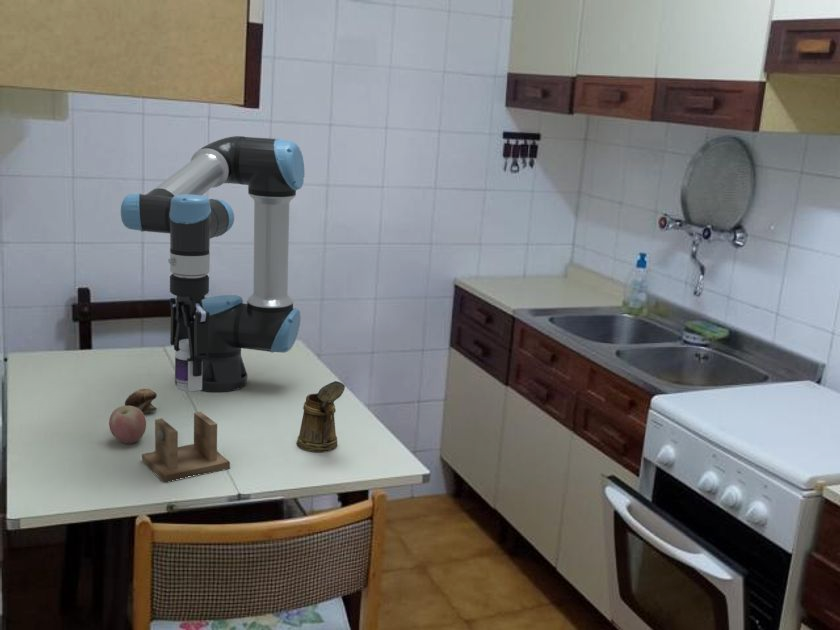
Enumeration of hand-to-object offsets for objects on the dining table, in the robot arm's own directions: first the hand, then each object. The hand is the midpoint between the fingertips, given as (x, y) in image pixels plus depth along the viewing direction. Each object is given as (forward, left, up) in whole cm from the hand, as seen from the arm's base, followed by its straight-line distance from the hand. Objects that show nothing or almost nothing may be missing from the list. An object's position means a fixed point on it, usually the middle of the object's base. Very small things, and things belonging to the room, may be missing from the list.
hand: (188, 385), depth 181 cm
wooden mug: (+6, +29, -18) cm, 34 cm away
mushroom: (-33, +3, -18) cm, 37 cm away
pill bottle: (0, 0, -1) cm, 1 cm away
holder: (0, 0, -17) cm, 17 cm away
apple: (-17, -6, -18) cm, 25 cm away
